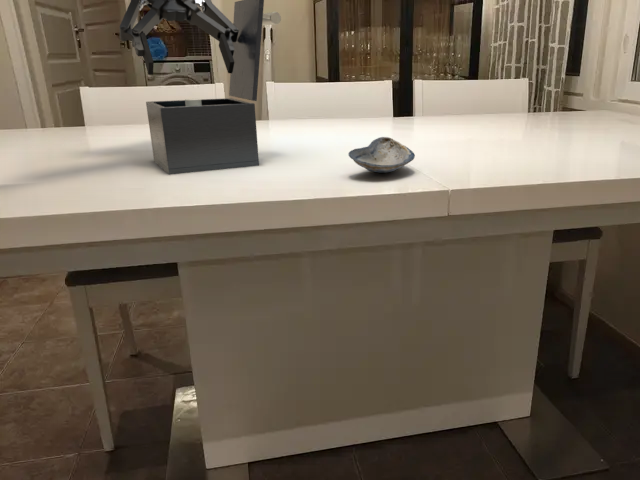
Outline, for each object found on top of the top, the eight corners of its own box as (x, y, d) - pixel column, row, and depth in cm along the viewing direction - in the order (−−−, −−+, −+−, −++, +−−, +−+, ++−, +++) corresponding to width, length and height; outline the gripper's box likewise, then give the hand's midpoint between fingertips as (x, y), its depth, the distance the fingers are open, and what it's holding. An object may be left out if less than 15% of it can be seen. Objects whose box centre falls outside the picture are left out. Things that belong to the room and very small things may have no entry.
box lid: (259, -5, 92) (291, 2, 95) (234, 1, 104) (263, 8, 107) (252, 100, 97) (282, 104, 100) (229, 95, 109) (256, 98, 112)
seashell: (332, 166, 101) (332, 138, 99) (397, 162, 105) (397, 135, 103) (356, 184, 88) (356, 152, 86) (429, 179, 91) (431, 148, 89)
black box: (169, 175, 95) (160, 107, 91) (154, 161, 106) (145, 101, 102) (259, 166, 102) (254, 103, 98) (236, 154, 113) (231, 98, 109)
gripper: (227, -1, 111) (258, 82, 104) (90, -7, 99) (114, 85, 93) (233, -35, 105) (266, 51, 98) (87, -45, 93) (113, 51, 87)
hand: (192, 68), depth 95 cm, fingers open, 13 cm apart
